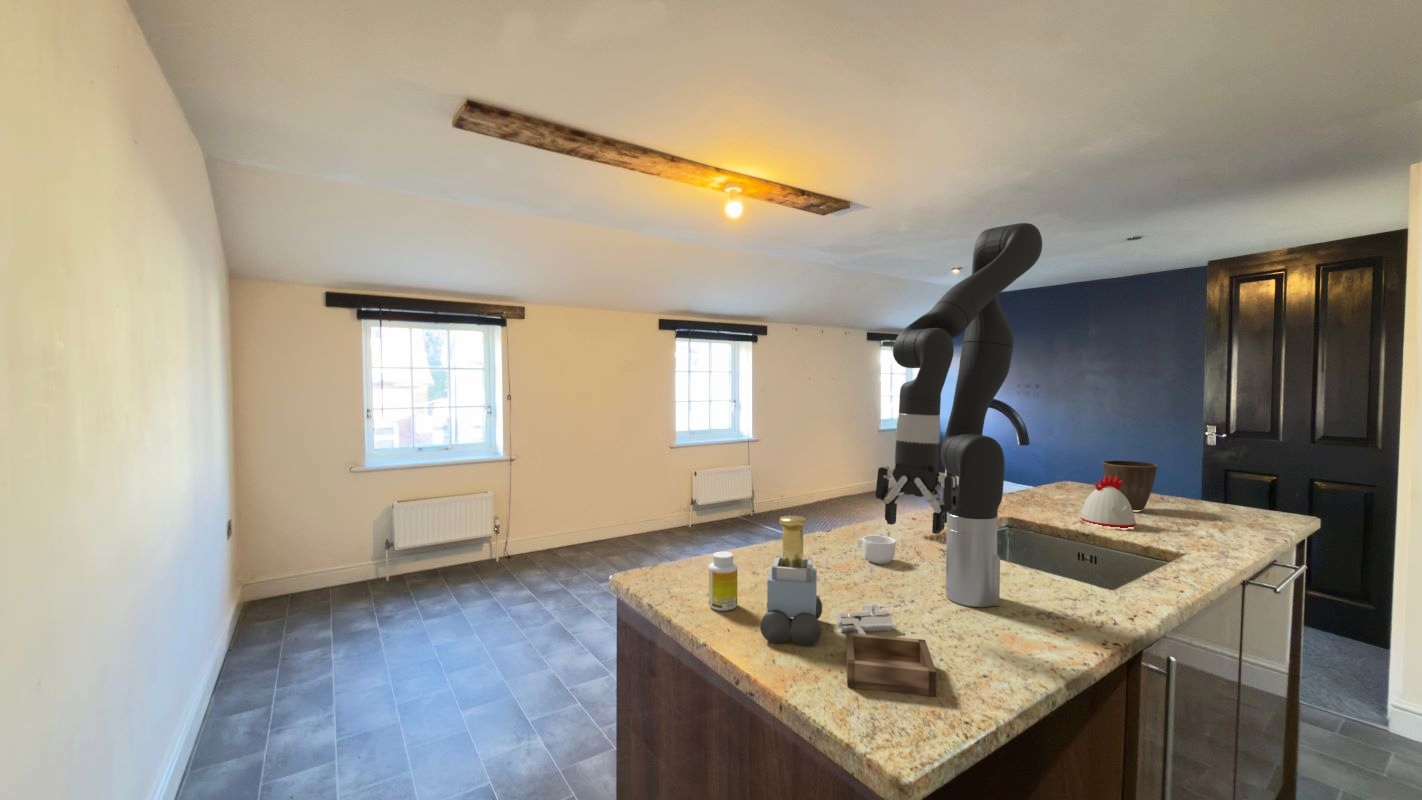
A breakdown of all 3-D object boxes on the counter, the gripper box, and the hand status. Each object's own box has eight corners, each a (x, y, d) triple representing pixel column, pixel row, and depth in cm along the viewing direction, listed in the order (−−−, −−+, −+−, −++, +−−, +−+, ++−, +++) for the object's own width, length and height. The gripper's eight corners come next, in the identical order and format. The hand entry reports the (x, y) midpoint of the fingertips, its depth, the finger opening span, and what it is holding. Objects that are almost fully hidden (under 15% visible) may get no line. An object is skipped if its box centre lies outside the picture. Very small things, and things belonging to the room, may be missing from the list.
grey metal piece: (884, 625, 103) (836, 627, 102) (885, 601, 102) (836, 603, 101) (908, 654, 93) (855, 657, 92) (909, 628, 92) (855, 630, 91)
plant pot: (1115, 514, 187) (1116, 466, 186) (1093, 504, 202) (1094, 459, 201) (1166, 516, 184) (1167, 467, 184) (1140, 506, 199) (1141, 460, 199)
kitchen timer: (1147, 530, 167) (1148, 479, 166) (1099, 530, 167) (1100, 479, 166) (1114, 519, 181) (1115, 472, 180) (1070, 519, 181) (1071, 472, 180)
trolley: (822, 619, 104) (822, 555, 104) (820, 647, 93) (821, 575, 93) (767, 615, 106) (767, 551, 106) (760, 641, 95) (760, 571, 95)
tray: (924, 661, 89) (925, 639, 88) (936, 696, 79) (936, 671, 79) (845, 654, 91) (846, 632, 91) (847, 686, 81) (847, 662, 81)
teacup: (902, 562, 138) (902, 540, 138) (883, 568, 133) (883, 545, 133) (867, 552, 146) (867, 531, 145) (848, 558, 141) (848, 536, 141)
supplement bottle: (742, 609, 109) (742, 556, 109) (716, 614, 107) (716, 560, 107) (729, 599, 114) (729, 548, 114) (704, 603, 112) (704, 552, 112)
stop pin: (806, 570, 101) (806, 516, 101) (805, 579, 97) (805, 522, 96) (780, 568, 102) (780, 515, 102) (778, 577, 98) (778, 521, 97)
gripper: (966, 442, 100) (961, 533, 101) (890, 435, 110) (886, 518, 111) (948, 443, 95) (943, 540, 95) (871, 436, 105) (867, 523, 105)
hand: (913, 528), depth 103 cm, fingers open, 8 cm apart
